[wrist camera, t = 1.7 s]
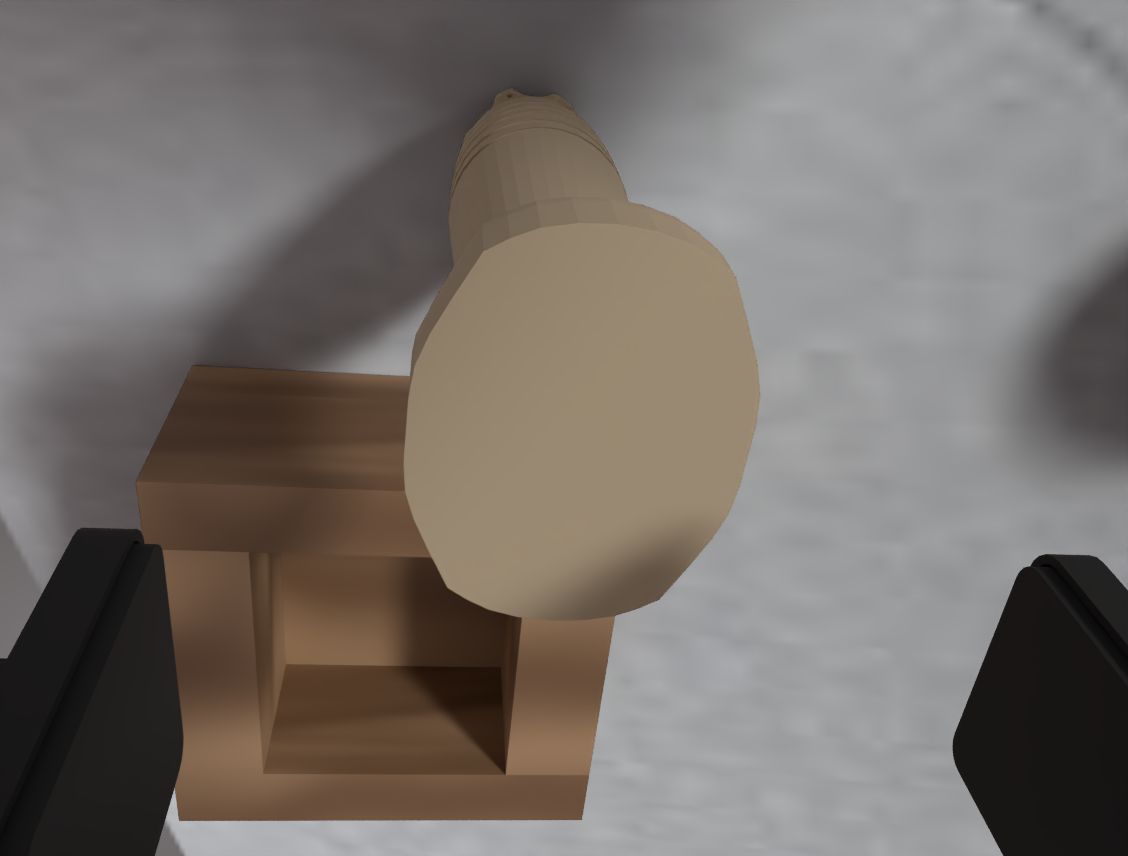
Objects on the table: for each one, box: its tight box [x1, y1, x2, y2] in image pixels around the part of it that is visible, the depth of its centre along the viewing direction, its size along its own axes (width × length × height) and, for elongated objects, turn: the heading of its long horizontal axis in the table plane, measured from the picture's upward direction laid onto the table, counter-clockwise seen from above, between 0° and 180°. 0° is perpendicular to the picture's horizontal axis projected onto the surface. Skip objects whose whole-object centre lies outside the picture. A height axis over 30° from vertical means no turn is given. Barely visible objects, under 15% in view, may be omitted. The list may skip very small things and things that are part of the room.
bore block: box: [136, 366, 615, 821], centre depth 31 cm, size 12×12×6 cm
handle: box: [403, 88, 760, 621], centre depth 21 cm, size 5×6×15 cm
